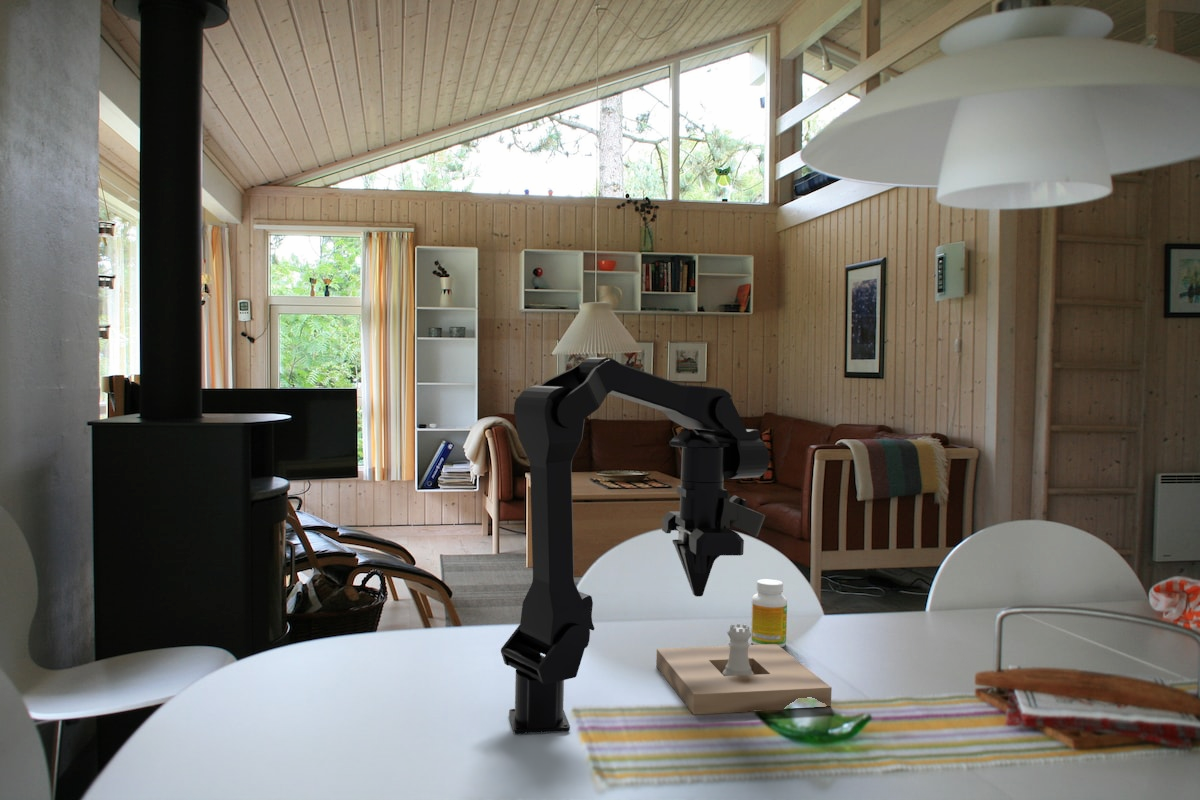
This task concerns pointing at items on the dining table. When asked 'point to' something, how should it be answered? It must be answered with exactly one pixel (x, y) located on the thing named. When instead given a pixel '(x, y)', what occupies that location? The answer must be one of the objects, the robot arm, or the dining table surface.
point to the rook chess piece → (738, 651)
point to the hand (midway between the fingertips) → (697, 595)
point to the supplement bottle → (769, 614)
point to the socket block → (739, 679)
